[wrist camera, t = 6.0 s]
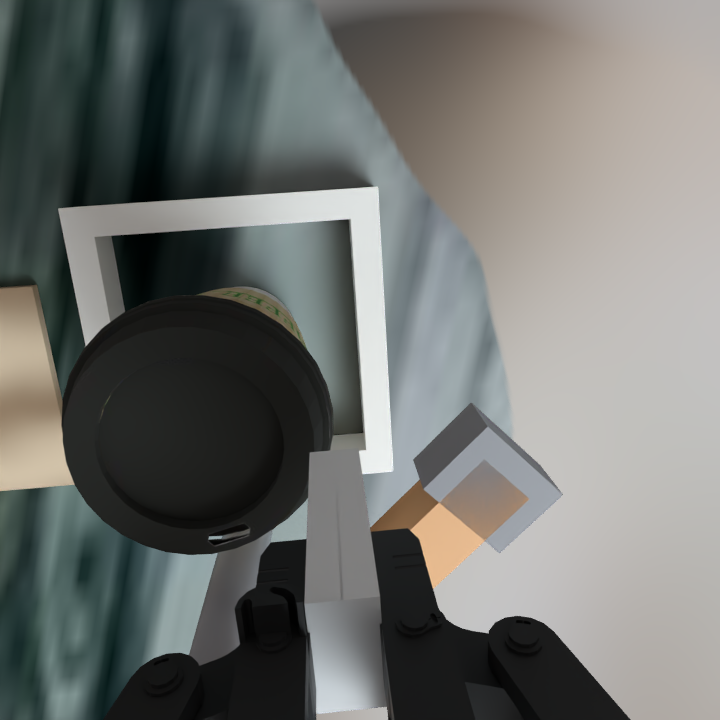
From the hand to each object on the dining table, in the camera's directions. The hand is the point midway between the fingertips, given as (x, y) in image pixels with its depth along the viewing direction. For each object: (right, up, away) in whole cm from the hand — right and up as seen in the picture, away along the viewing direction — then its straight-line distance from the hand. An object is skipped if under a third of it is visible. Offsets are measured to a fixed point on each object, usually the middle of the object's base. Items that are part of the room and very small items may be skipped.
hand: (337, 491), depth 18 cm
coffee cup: (-6, +5, +17) cm, 19 cm away
